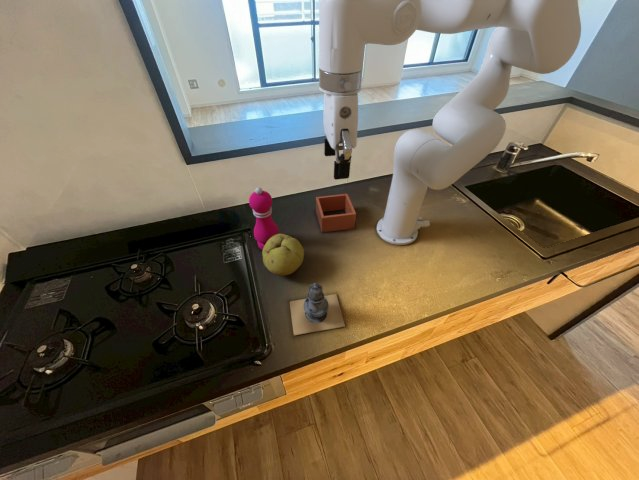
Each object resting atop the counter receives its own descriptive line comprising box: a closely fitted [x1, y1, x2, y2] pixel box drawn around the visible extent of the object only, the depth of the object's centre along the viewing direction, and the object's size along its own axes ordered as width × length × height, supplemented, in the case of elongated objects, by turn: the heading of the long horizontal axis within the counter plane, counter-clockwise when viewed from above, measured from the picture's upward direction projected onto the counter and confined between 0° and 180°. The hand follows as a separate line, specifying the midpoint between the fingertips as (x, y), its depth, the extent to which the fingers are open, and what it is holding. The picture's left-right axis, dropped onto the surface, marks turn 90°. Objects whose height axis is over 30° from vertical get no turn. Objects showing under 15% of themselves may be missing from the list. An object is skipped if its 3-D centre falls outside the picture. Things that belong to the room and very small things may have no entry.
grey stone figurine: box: [303, 282, 329, 323], centre depth 63 cm, size 6×6×12 cm
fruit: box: [261, 233, 305, 277], centre depth 74 cm, size 11×12×10 cm
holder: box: [315, 193, 357, 233], centre depth 90 cm, size 11×11×6 cm
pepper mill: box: [248, 186, 280, 251], centre depth 77 cm, size 7×7×20 cm
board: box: [289, 293, 346, 337], centre depth 67 cm, size 12×9×1 cm
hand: (336, 166), depth 61 cm, fingers open, 9 cm apart
